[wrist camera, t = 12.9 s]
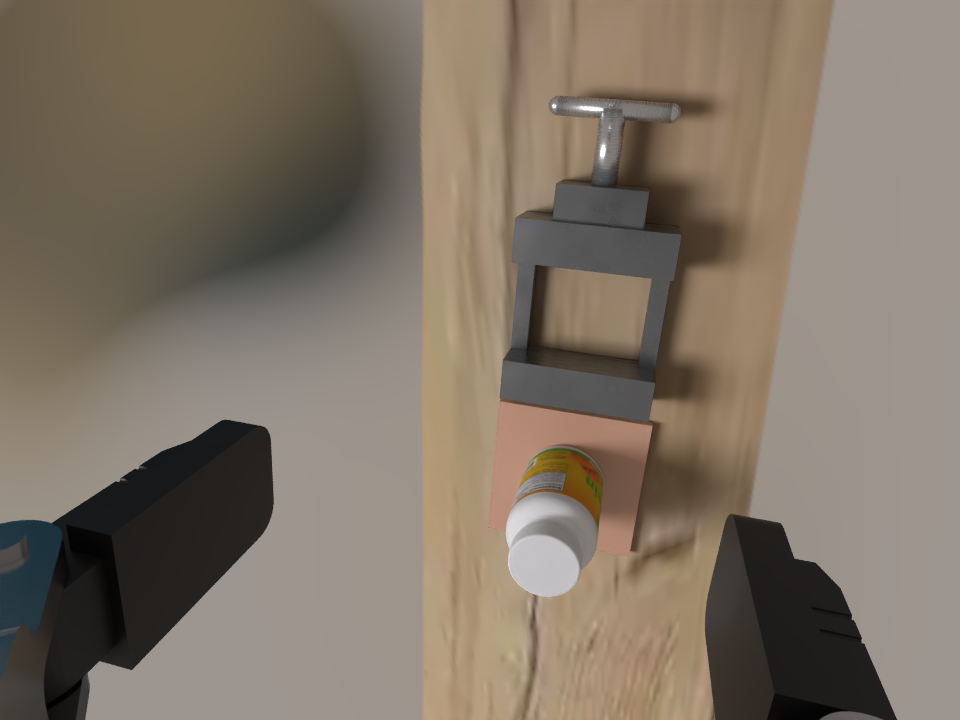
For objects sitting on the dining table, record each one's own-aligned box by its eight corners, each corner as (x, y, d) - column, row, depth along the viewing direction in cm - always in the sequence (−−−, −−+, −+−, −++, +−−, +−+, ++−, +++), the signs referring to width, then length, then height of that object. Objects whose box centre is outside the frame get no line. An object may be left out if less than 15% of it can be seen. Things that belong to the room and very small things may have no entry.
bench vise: (536, 95, 37) (526, 91, 34) (699, 106, 35) (705, 103, 32) (510, 378, 43) (499, 398, 40) (648, 399, 41) (648, 422, 38)
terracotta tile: (501, 397, 43) (499, 401, 43) (652, 422, 41) (652, 426, 41) (490, 523, 47) (488, 528, 46) (629, 551, 45) (628, 556, 44)
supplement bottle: (612, 508, 43) (604, 605, 35) (535, 517, 45) (508, 611, 36) (594, 437, 42) (581, 518, 33) (516, 448, 44) (483, 529, 35)
